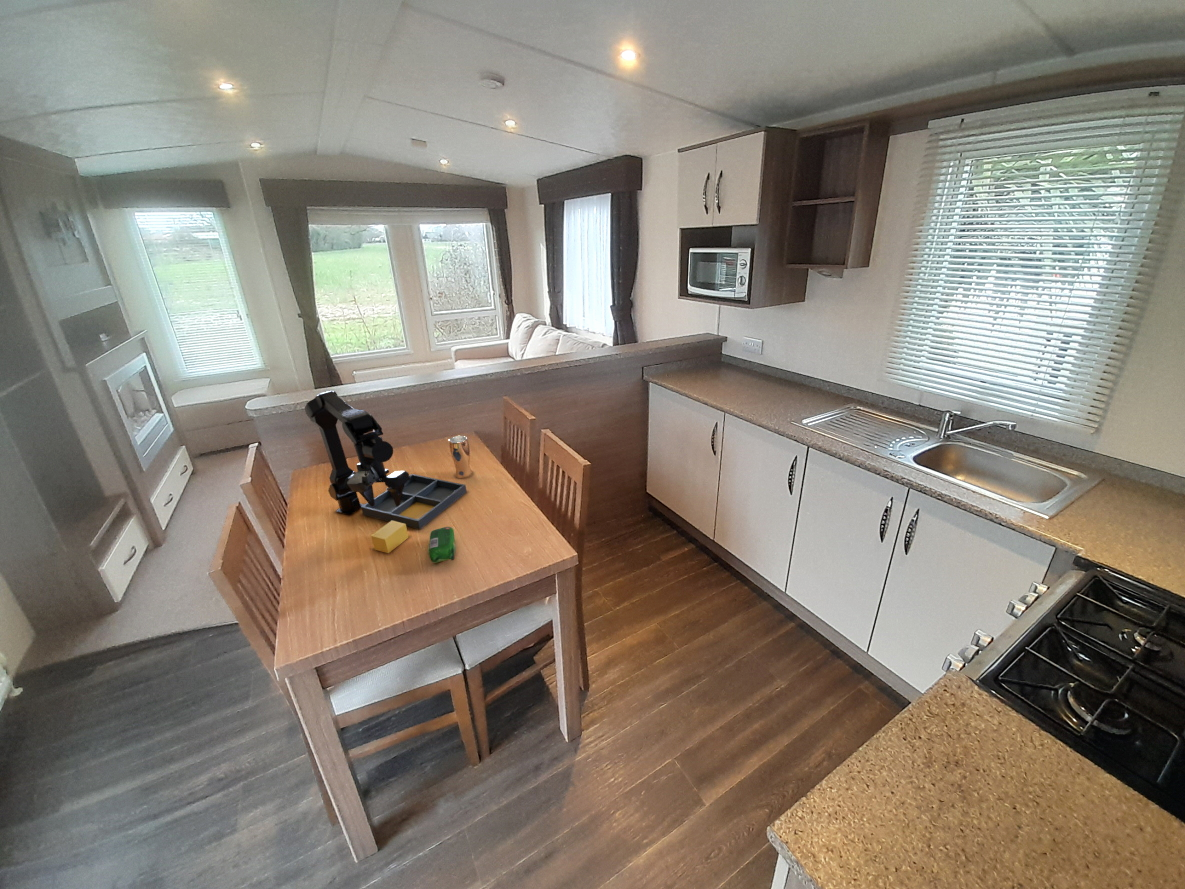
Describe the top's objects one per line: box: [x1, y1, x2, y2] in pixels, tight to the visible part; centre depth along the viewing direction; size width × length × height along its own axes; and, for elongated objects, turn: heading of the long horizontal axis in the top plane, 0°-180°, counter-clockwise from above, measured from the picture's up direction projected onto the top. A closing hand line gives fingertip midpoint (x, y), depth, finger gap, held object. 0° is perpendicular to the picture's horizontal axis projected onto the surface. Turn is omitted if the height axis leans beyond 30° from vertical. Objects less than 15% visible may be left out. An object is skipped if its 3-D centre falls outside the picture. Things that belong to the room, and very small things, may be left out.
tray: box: [360, 473, 468, 530], centre depth 164 cm, size 24×24×3 cm
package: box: [370, 521, 410, 554], centre depth 143 cm, size 6×8×5 cm, turn 157°
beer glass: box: [448, 435, 473, 479], centre depth 180 cm, size 7×7×15 cm
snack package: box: [428, 526, 456, 564], centre depth 138 cm, size 7×16×5 cm, turn 15°
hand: (385, 505), depth 140 cm, fingers open, 9 cm apart
